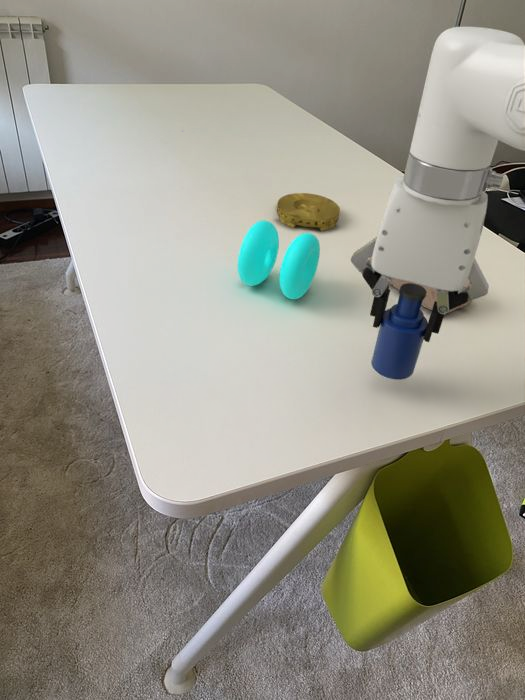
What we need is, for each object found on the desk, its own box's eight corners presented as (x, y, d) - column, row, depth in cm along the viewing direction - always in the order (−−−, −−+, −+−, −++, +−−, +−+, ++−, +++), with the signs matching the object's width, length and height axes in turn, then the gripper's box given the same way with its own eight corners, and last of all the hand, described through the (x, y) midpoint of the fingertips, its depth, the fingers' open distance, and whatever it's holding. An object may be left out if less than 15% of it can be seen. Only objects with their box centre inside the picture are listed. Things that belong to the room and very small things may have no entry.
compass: (336, 206, 111) (338, 196, 110) (339, 234, 102) (341, 223, 100) (277, 200, 111) (278, 190, 110) (275, 227, 102) (276, 216, 100)
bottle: (417, 360, 69) (440, 284, 62) (409, 384, 65) (433, 307, 58) (376, 348, 70) (394, 273, 64) (367, 372, 66) (385, 294, 60)
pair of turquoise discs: (260, 265, 91) (266, 208, 84) (317, 283, 88) (326, 225, 81) (232, 293, 83) (236, 233, 77) (293, 313, 80) (301, 253, 74)
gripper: (537, 181, 54) (480, 331, 65) (367, 149, 58) (341, 294, 69) (537, 208, 48) (474, 368, 59) (348, 170, 53) (323, 325, 64)
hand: (403, 327), depth 64 cm, fingers closed on bottle, 5 cm apart
